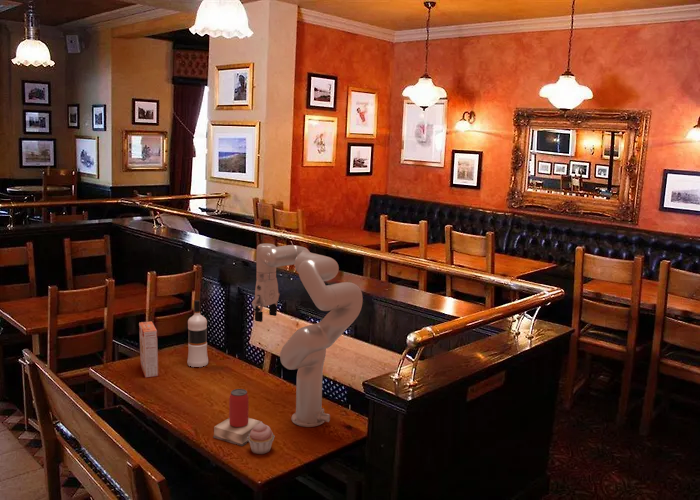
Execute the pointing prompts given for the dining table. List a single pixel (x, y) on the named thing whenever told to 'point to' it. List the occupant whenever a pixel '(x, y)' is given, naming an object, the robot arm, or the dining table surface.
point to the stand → (234, 432)
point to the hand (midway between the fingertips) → (265, 318)
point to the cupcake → (261, 438)
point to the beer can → (238, 408)
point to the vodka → (197, 338)
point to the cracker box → (148, 349)
